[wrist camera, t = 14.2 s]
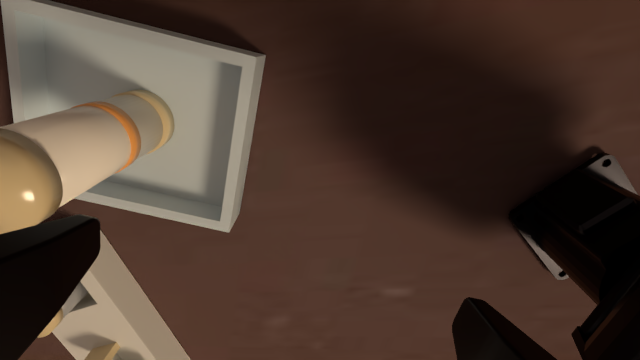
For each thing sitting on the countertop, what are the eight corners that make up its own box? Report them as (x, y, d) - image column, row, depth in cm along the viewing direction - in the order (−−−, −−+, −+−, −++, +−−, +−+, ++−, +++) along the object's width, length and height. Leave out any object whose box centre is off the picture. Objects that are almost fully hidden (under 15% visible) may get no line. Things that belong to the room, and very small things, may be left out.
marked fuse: (181, 145, 20) (52, 235, 11) (126, 151, 20) (-45, 245, 11) (164, 85, 19) (0, 130, 10) (105, 93, 19) (-108, 145, 10)
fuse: (107, 270, 24) (61, 318, 20) (90, 293, 25) (41, 344, 21) (72, 248, 23) (16, 293, 19) (55, 272, 24) (-2, 320, 20)
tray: (265, 54, 19) (256, 57, 16) (239, 212, 23) (229, 232, 20) (42, -2, 18) (-1, -8, 16) (53, 171, 22) (20, 186, 20)
